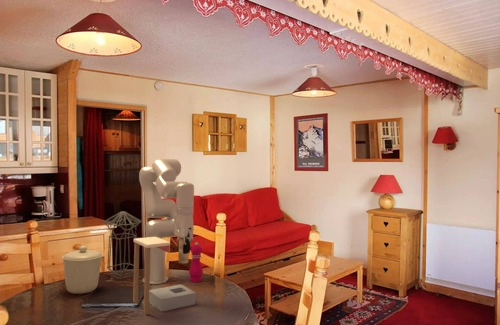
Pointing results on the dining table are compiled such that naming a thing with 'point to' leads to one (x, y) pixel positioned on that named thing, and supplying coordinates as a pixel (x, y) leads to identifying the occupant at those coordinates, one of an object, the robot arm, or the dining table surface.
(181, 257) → the peg
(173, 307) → the socket block
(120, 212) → the geometric lantern
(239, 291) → the dining table surface
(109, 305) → the dining table surface
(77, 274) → the canister
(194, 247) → the pepper mill
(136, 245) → the small side table
